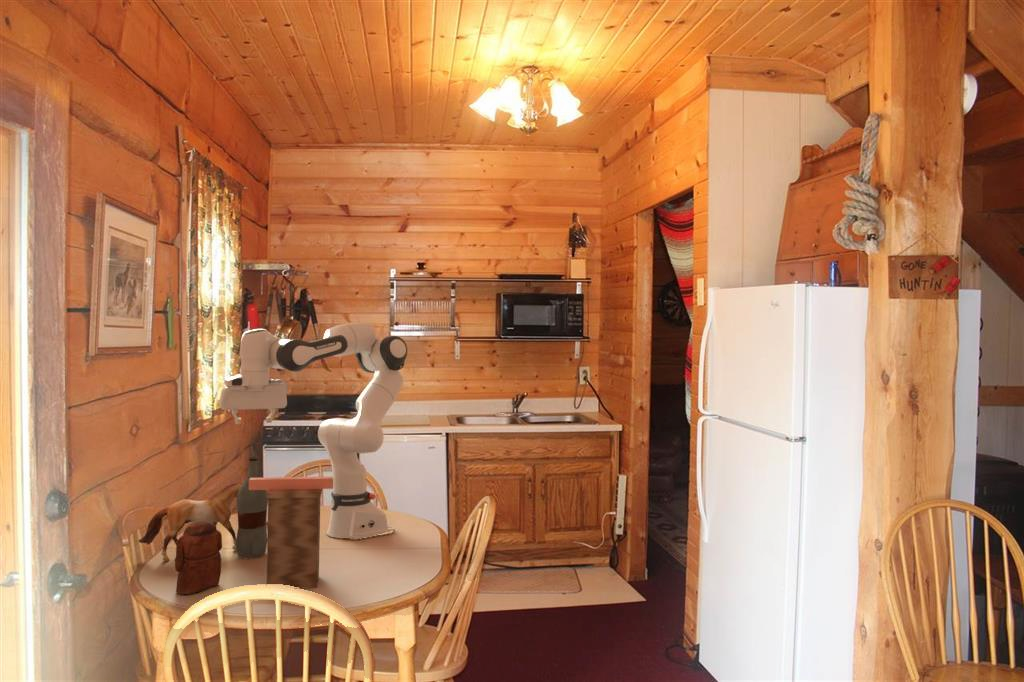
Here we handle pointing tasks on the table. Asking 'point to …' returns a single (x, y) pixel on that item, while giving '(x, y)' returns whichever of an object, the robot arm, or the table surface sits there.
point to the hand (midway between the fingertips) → (253, 423)
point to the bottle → (251, 517)
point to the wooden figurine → (198, 558)
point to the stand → (293, 537)
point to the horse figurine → (194, 515)
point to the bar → (290, 483)
